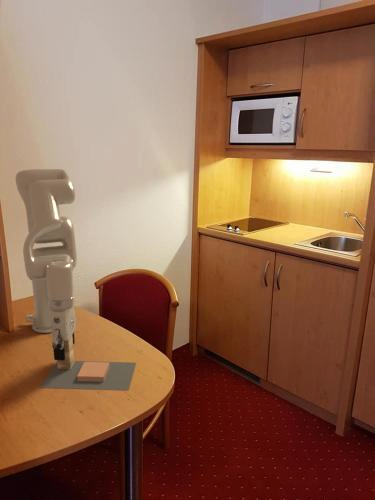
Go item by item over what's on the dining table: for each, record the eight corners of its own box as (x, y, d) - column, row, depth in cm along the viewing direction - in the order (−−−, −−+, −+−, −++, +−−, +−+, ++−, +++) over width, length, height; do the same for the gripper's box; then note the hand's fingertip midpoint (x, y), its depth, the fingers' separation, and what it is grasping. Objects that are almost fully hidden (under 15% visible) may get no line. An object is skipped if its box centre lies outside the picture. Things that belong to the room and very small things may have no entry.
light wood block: (57, 368, 125) (55, 337, 122) (61, 362, 129) (59, 331, 126) (70, 369, 125) (68, 337, 122) (74, 362, 129) (72, 331, 126)
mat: (39, 389, 116) (39, 387, 116) (57, 362, 130) (57, 360, 130) (128, 392, 115) (128, 390, 115) (136, 364, 130) (136, 362, 130)
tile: (77, 376, 119) (103, 376, 119) (84, 361, 127) (109, 362, 126) (77, 380, 119) (103, 381, 119) (84, 366, 127) (109, 366, 127)
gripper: (64, 314, 113) (68, 367, 118) (81, 291, 130) (84, 338, 135) (38, 313, 113) (42, 366, 118) (58, 290, 130) (62, 337, 135)
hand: (64, 351), depth 126 cm, fingers open, 9 cm apart
